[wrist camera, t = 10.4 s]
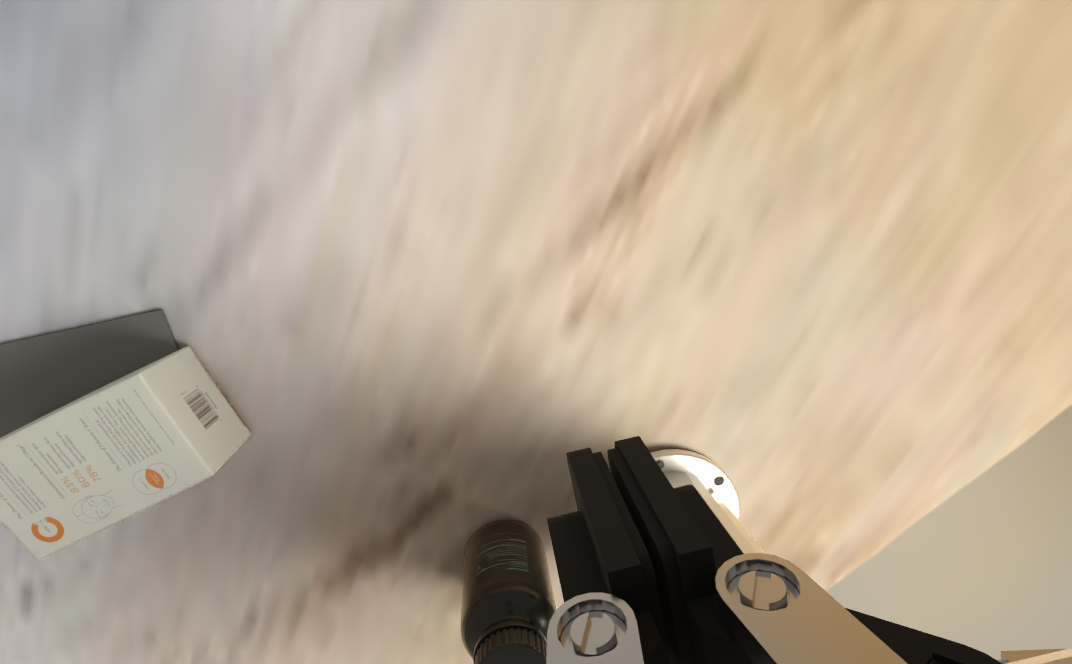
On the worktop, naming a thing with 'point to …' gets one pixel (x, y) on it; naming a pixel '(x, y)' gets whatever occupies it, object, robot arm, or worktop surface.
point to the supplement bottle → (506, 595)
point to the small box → (115, 453)
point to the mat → (75, 364)
